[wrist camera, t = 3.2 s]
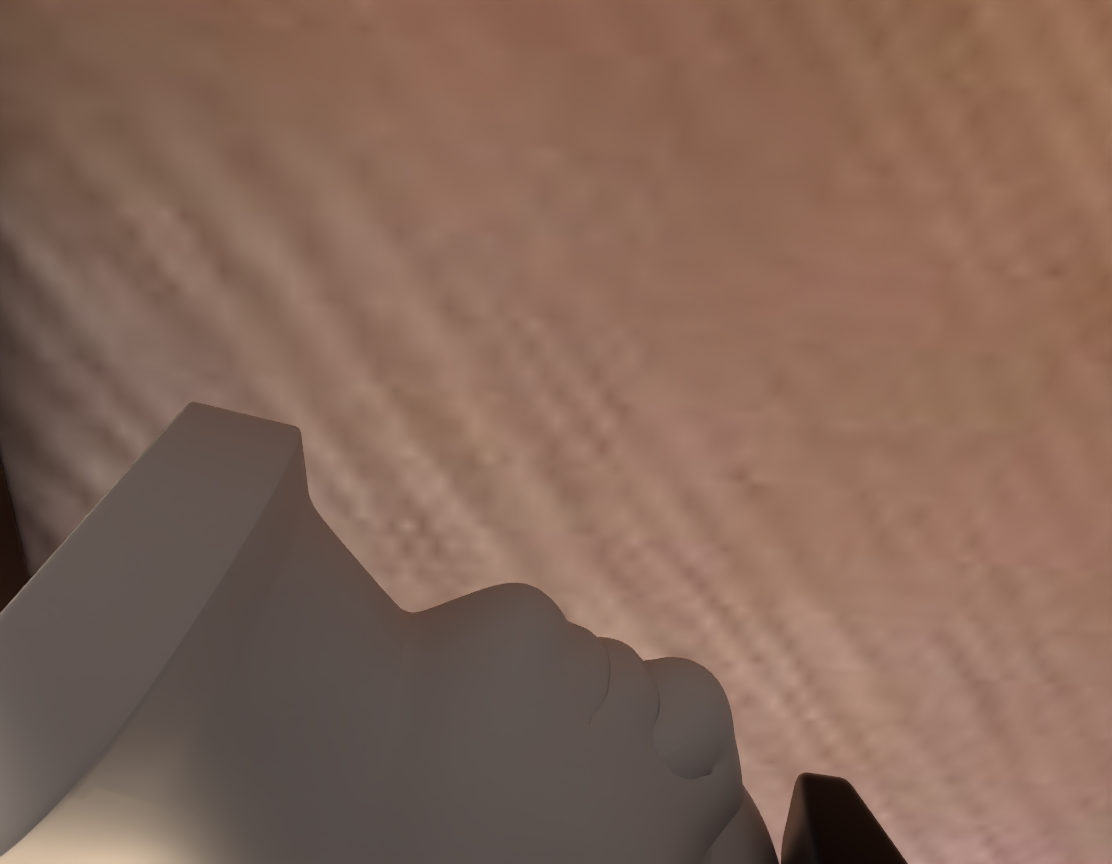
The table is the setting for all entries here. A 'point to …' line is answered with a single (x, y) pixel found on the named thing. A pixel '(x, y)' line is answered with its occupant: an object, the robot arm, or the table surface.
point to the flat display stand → (9, 550)
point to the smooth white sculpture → (330, 697)
